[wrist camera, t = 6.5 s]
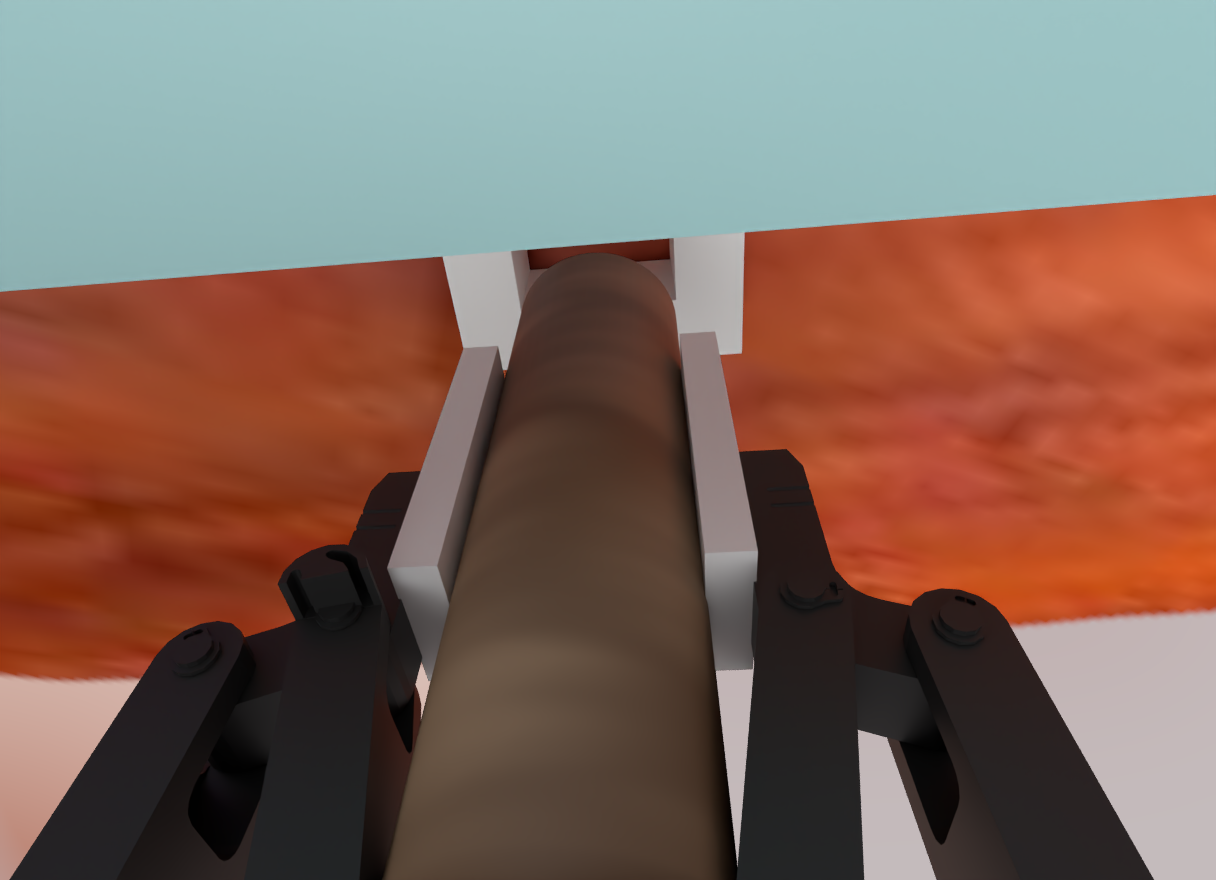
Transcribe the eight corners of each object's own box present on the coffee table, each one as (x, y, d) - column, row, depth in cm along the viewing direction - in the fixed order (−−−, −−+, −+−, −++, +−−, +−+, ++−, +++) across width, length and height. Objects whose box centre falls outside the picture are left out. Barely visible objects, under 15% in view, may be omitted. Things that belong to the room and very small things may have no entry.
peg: (534, 396, 21) (424, 1004, 10) (508, 260, 18) (322, 852, 7) (679, 386, 21) (743, 999, 9) (672, 245, 18) (747, 840, 7)
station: (409, 332, 31) (196, 804, 15) (225, -343, 19) (-1486, -1318, 4) (806, 303, 30) (1018, 772, 14) (861, -425, 18) (2325, -2219, 3)
